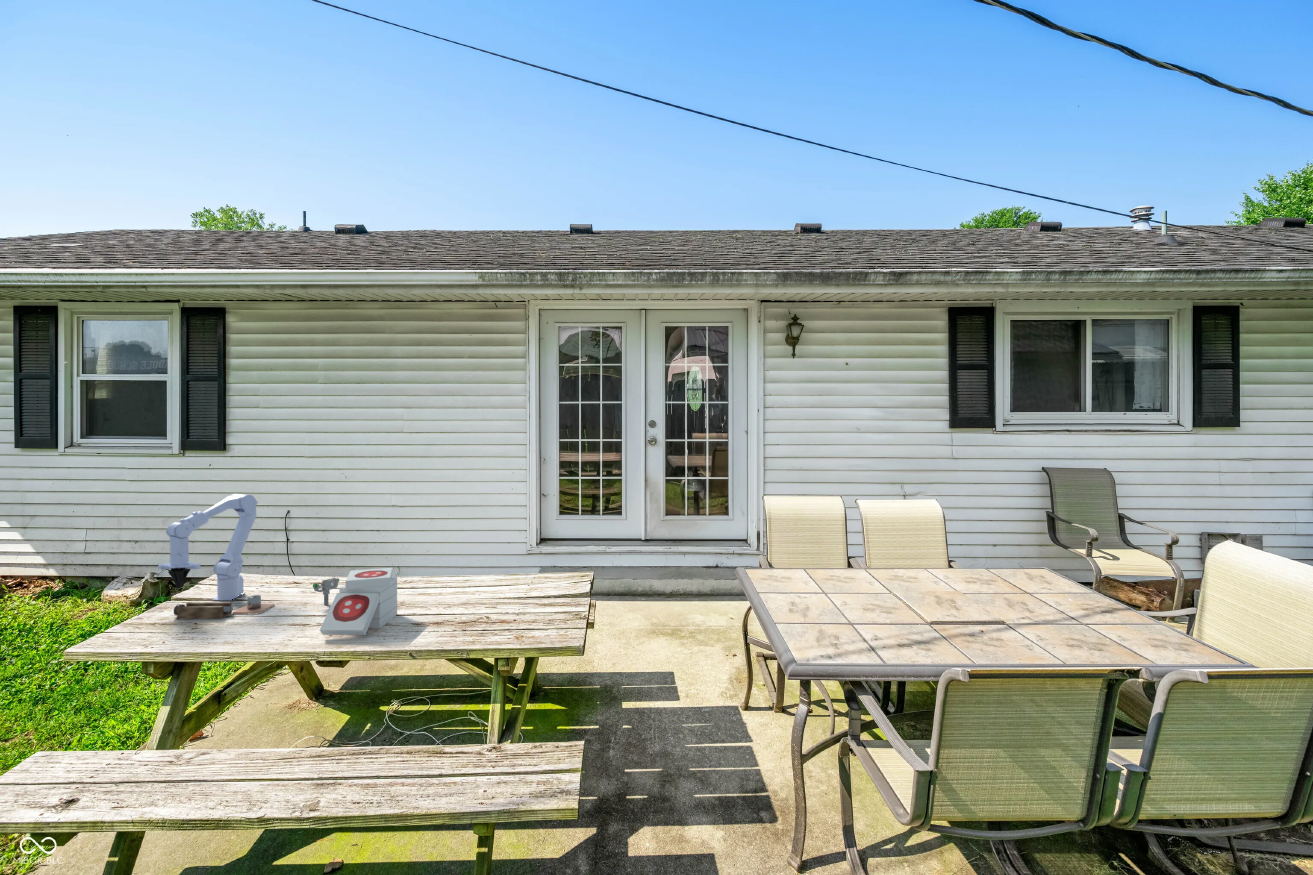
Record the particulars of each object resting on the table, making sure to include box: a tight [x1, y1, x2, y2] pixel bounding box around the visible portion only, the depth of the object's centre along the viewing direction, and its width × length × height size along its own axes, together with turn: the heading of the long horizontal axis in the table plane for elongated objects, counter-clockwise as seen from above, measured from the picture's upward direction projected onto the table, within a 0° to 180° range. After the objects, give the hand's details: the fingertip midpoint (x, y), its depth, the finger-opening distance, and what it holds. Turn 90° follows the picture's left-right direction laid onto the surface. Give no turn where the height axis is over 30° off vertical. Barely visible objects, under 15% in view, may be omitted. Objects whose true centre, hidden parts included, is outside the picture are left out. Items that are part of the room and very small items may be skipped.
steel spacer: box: [246, 594, 262, 610], centre depth 232 cm, size 4×4×5 cm
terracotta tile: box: [232, 603, 275, 615], centre depth 232 cm, size 10×10×1 cm
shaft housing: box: [176, 601, 233, 620], centre depth 224 cm, size 16×6×4 cm, turn 94°
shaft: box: [173, 604, 234, 617], centre depth 224 cm, size 20×4×4 cm, turn 94°
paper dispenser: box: [319, 567, 398, 636], centre depth 217 cm, size 19×30×18 cm, turn 1°
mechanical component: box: [312, 577, 340, 606], centre depth 240 cm, size 3×10×10 cm, turn 152°
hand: (179, 586), depth 230 cm, fingers closed
